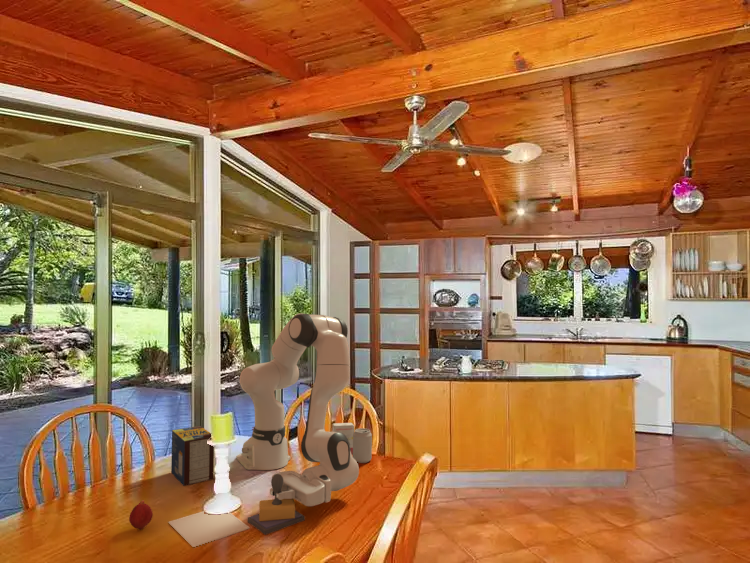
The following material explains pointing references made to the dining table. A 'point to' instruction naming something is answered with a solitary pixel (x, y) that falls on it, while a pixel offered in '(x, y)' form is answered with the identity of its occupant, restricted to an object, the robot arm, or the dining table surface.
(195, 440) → the protein box
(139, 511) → the onion
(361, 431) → the can
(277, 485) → the rubber stamp
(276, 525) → the ink pad
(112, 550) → the dining table surface
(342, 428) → the ink box
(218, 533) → the paper
